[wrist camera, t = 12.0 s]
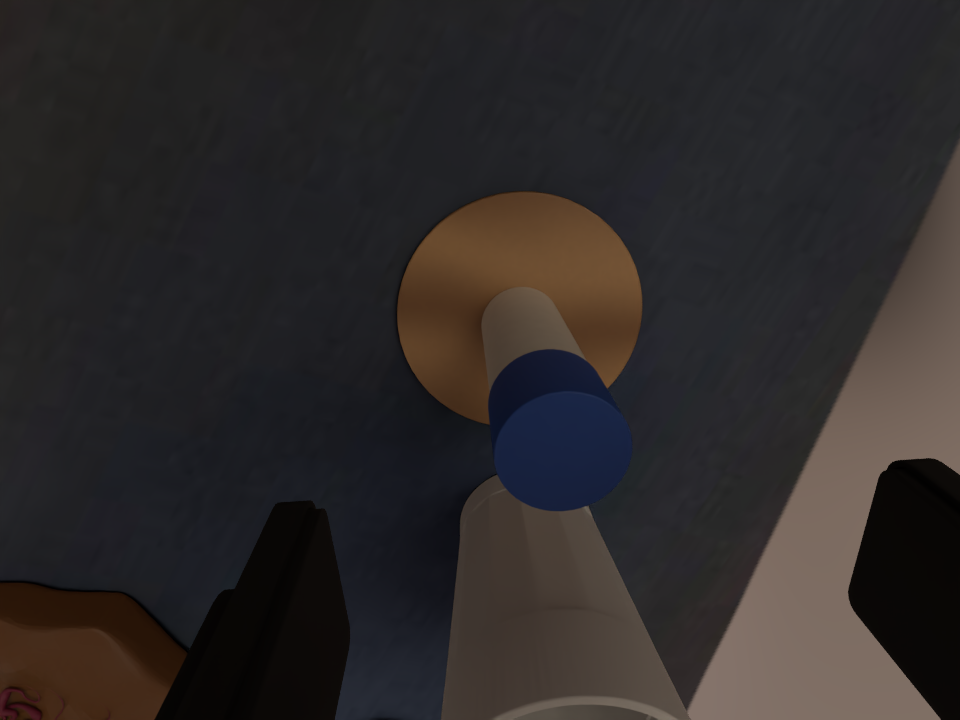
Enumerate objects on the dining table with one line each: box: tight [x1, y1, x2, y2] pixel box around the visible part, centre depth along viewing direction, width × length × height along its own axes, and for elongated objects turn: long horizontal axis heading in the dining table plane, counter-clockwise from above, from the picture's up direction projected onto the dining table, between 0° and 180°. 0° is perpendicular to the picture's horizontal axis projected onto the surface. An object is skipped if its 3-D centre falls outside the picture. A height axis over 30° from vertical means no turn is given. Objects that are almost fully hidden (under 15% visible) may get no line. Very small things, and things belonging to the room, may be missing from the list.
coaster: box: [397, 191, 642, 425], centre depth 23 cm, size 10×10×1 cm
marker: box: [481, 287, 632, 511], centre depth 18 cm, size 3×3×10 cm
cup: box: [441, 475, 690, 720], centre depth 22 cm, size 8×8×12 cm
